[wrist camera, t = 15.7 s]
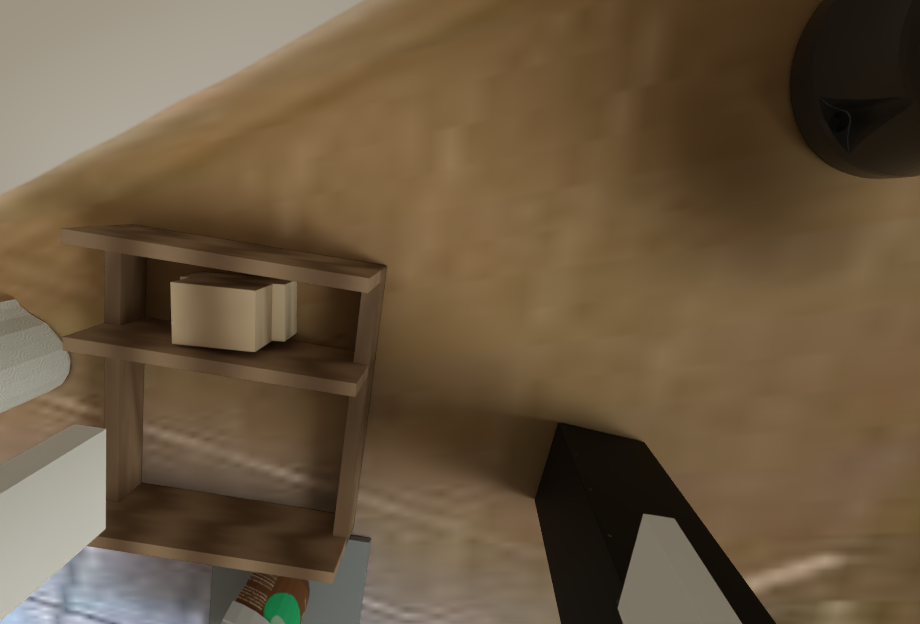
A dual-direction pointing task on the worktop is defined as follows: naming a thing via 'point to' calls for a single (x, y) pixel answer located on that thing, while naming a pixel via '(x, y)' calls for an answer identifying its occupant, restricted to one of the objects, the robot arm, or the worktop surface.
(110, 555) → the worktop surface
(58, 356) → the paper towel roll
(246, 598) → the food container
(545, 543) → the black bar
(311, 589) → the mat
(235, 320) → the offcut upper
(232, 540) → the rack
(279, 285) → the offcut lower
